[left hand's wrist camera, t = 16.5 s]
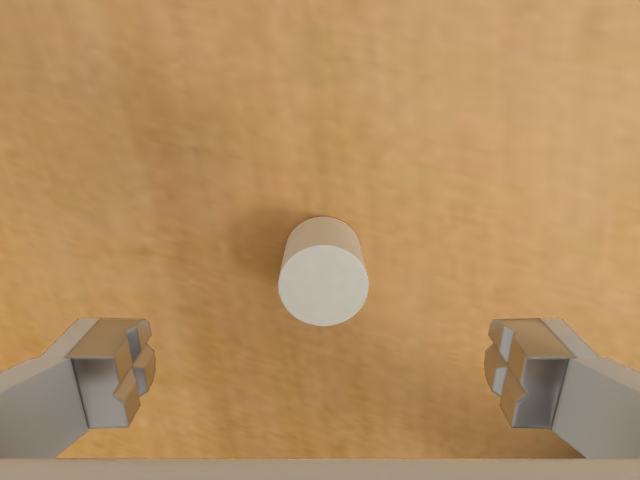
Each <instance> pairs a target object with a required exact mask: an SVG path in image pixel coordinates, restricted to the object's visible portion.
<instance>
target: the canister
mask: <svg viewBox="0 0 640 480" xmlns="http://www.w3.org/2000/svg"><path fill="white" fill-rule="evenodd" d="M368 289H369V281H368V275H367V271H366V267H365V263H364V259H363V254H362V250H361V246H360V242H359V239H358V237H357V235H356V234H355V232H354V231H353V230H352V228H351V227H350V226H348V225H347V224H346V223H344V222H343V221H341V220H338V219H336V218H332V217H324V216H322V217H314V218H311V219H308V220H306V221H303V222H302V223H300V224H299V225H298V226H297V227H295V229H294V230H293V231H292V232H291V234H290V235H289V237H288V239H287V242H286V246H285V251H284V256H283V261H282V265H281V270H280V275H279V280H278V290H279V295H280V298H281V301H282V303H283V305H284V306H285V308H286V309H287V310H288V311H289V312H290V313H291V314H292V315H293V316H294V317H295V318H297V319H299V320H300V321H302V322H305V323H307V324H311V325H315V326H332V325H336V324H340V323H342V322H344V321H346V320H348V319H350V318H351V317H353V316H354V315H355V314H356V313H357V312H358V311H359V310H360V309H361V307H362V306H363V304H364V303H365V300H366V298H367V295H368Z"/></svg>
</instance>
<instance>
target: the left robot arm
mask: <svg viewBox="0 0 640 480" xmlns="http://www.w3.org/2000/svg"><path fill="white" fill-rule="evenodd" d="M150 336H151V330H150V325H149V322H148V321H147V320H146V319H133V318H81V319H77V320H76V321H75V322H74V323H73V324H72V325H71V326H70V327H69V328H68V329H67V330H66V331H65V332H64V333H63V334H62V335H61V336H60V337H59V338H58V339H57V340H56V341H55V342H54V343H53V344H52V345H51V346H50V347H49V348H48V349H47V350H46V351H45V353H44V354H43V355H42V356H41V357H40V358H31V359H29V360H27V361H24V362H22V363H20V364H18V365H16V366H13V367H11V368H9V369H7V370H4V371H2V372H0V480H640V372H638V371H636V370H633V369H631V368H629V367H627V366H624V365H622V364H620V363H618V362H616V361H613V360H611V359H609V358H600V356H599V355H598V354H597V353H596V352H595V351H594V350H593V349H592V348H591V347H590V346H589V345H588V344H587V343H586V342H585V341H584V340H583V339H582V338H581V337H580V336H579V335H578V334H577V333H576V332H575V331H574V330H573V329H572V328H571V327H570V326H569V325H568V324H567V323H566V322H565V321H564V320H563V319H560V318H557V317H556V318H528V319H494V320H493V321H492V323H491V325H490V329H489V336H490V338H491V340H492V341H493V344H492V345H491V346H490V347H489V348H488V349H487V350H486V353H485V361H484V366H485V375H486V379H487V382H488V384H489V386H490V388H491V390H492V391H493V392H494V393H496V394H497V395H499V396H500V397H501V400H500V407H501V409H502V411H503V412H504V414H505V416H506V418H507V420H508V422H509V423H510V425H511V427H512V428H545V429H551V431H553V432H554V433H555V434H556V435H558V436H559V437H560V438H561V439H563V440H564V441H565V442H567V443H568V444H569V445H570V446H572V447H573V448H574V449H575V450H577V451H578V452H579V453H580V454H582V455H583V456H584V457H586V458H476V459H126V458H55V457H56V456H57V455H58V454H60V453H61V452H62V451H64V450H65V449H66V448H67V447H69V446H70V445H71V444H72V443H74V442H75V441H76V440H77V439H79V438H80V437H81V436H83V435H84V434H85V433H86V432H88V431H89V429H94V428H128V427H129V425H130V423H131V422H132V420H133V418H134V416H135V414H136V413H137V411H138V409H139V407H140V400H139V397H140V396H141V395H143V394H144V393H146V392H147V391H148V390H149V388H150V386H151V384H152V382H153V378H154V374H155V367H156V359H155V353H154V350H153V349H152V348H151V347H150V346H149V345H148V344H147V341H148V340H149V338H150Z"/></svg>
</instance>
